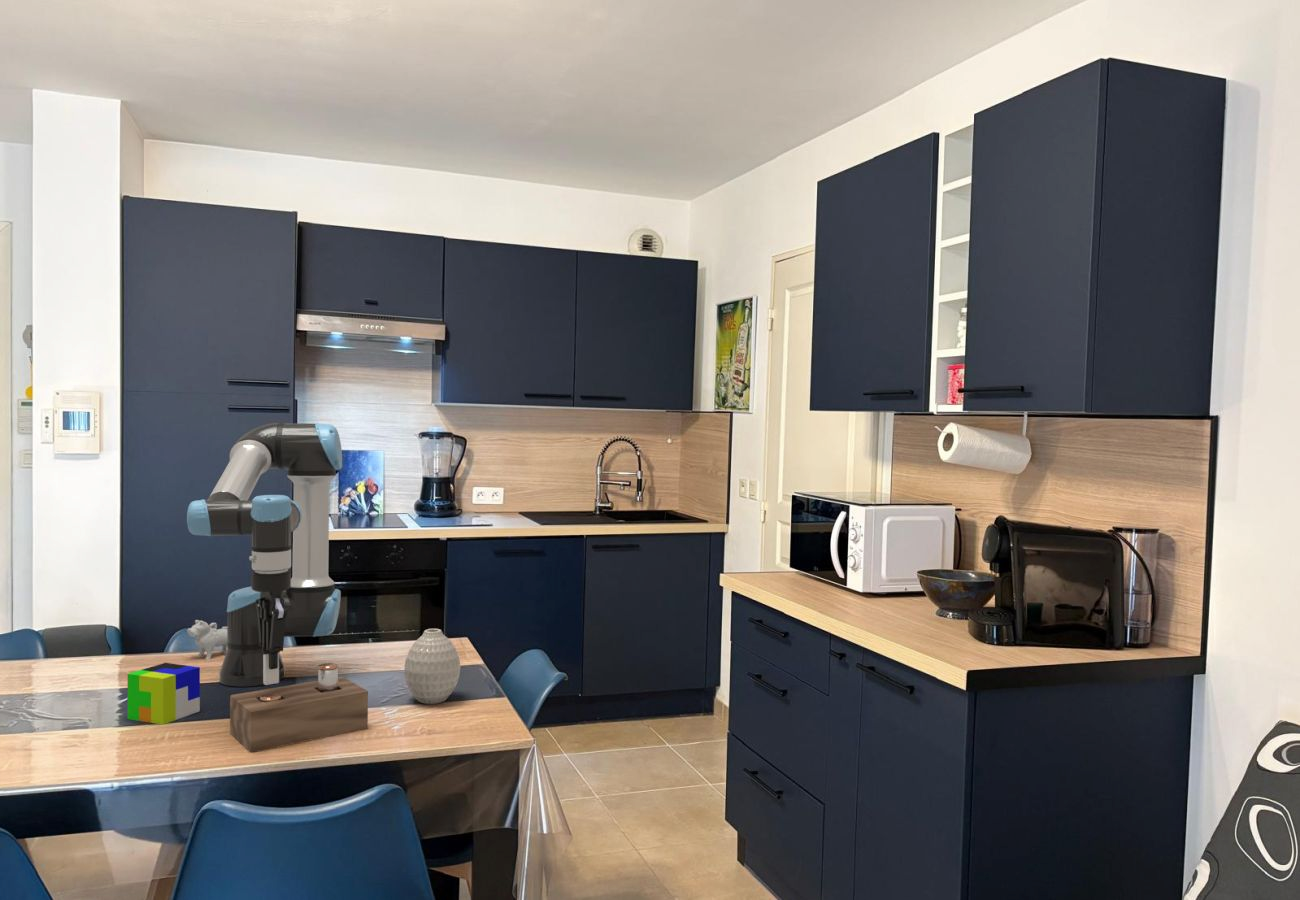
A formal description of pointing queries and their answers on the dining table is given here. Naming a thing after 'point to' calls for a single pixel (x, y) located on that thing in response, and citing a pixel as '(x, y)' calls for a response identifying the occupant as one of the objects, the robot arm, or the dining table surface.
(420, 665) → the vase
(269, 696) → the peg
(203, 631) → the dog figurine
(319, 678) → the peg
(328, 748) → the dining table surface
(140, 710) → the puzzle toy
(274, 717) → the socket block
